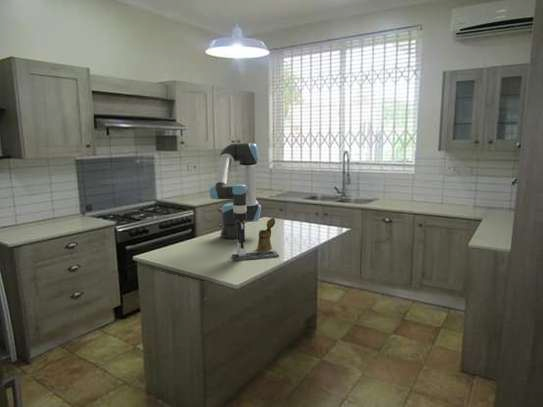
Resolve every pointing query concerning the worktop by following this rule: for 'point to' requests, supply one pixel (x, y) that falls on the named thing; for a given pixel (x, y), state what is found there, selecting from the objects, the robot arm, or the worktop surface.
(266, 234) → the wooden mug
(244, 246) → the steel peg
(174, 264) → the worktop surface
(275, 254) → the dark grey slotted board
